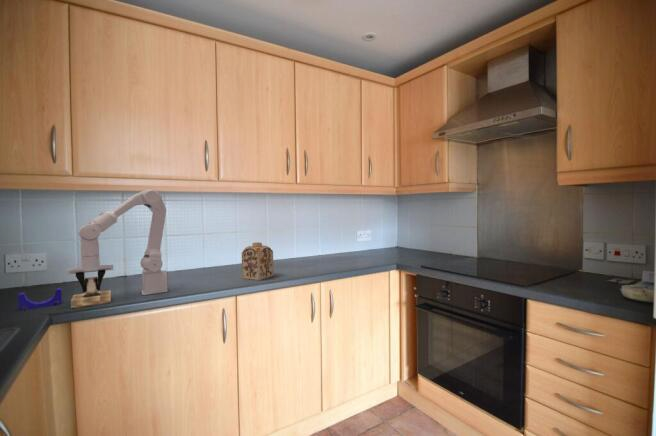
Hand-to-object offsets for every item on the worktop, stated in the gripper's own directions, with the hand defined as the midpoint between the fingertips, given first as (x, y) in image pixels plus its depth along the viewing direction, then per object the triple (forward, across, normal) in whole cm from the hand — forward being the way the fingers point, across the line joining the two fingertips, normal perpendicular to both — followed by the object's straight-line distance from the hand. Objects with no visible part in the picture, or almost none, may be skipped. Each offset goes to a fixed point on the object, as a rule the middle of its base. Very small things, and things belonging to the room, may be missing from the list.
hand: (91, 290), depth 127 cm
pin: (+3, 0, 0) cm, 3 cm away
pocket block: (+5, 0, 0) cm, 5 cm away
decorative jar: (+5, -69, -4) cm, 69 cm away
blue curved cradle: (+5, +16, -7) cm, 18 cm away
